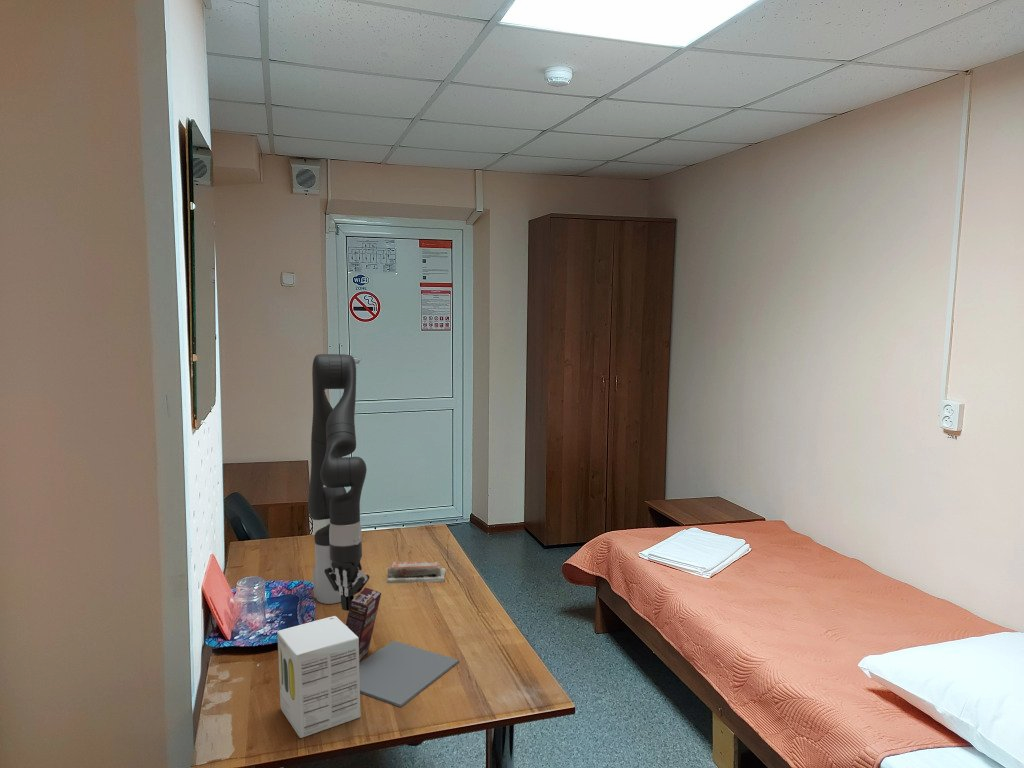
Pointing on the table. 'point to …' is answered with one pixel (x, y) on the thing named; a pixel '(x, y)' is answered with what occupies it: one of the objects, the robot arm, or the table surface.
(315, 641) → the supplement box
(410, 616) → the table surface
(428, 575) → the packaged product
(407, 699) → the mat
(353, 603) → the supplement box
